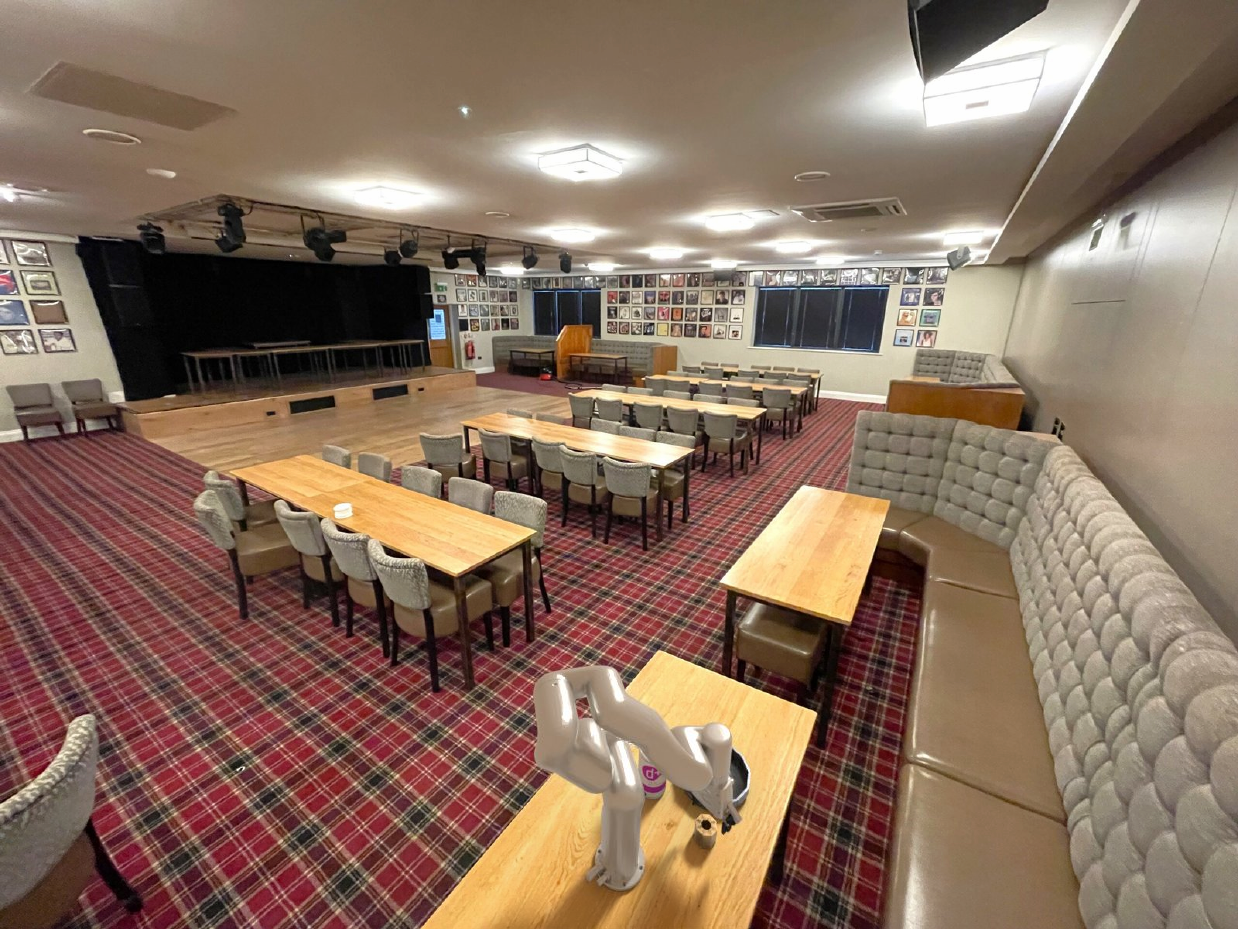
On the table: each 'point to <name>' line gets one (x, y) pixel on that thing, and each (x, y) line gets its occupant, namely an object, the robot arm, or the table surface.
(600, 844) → the robot arm
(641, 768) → the supplement can
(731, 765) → the tray
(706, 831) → the tan hollow faceted cylinder
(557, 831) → the table surface
